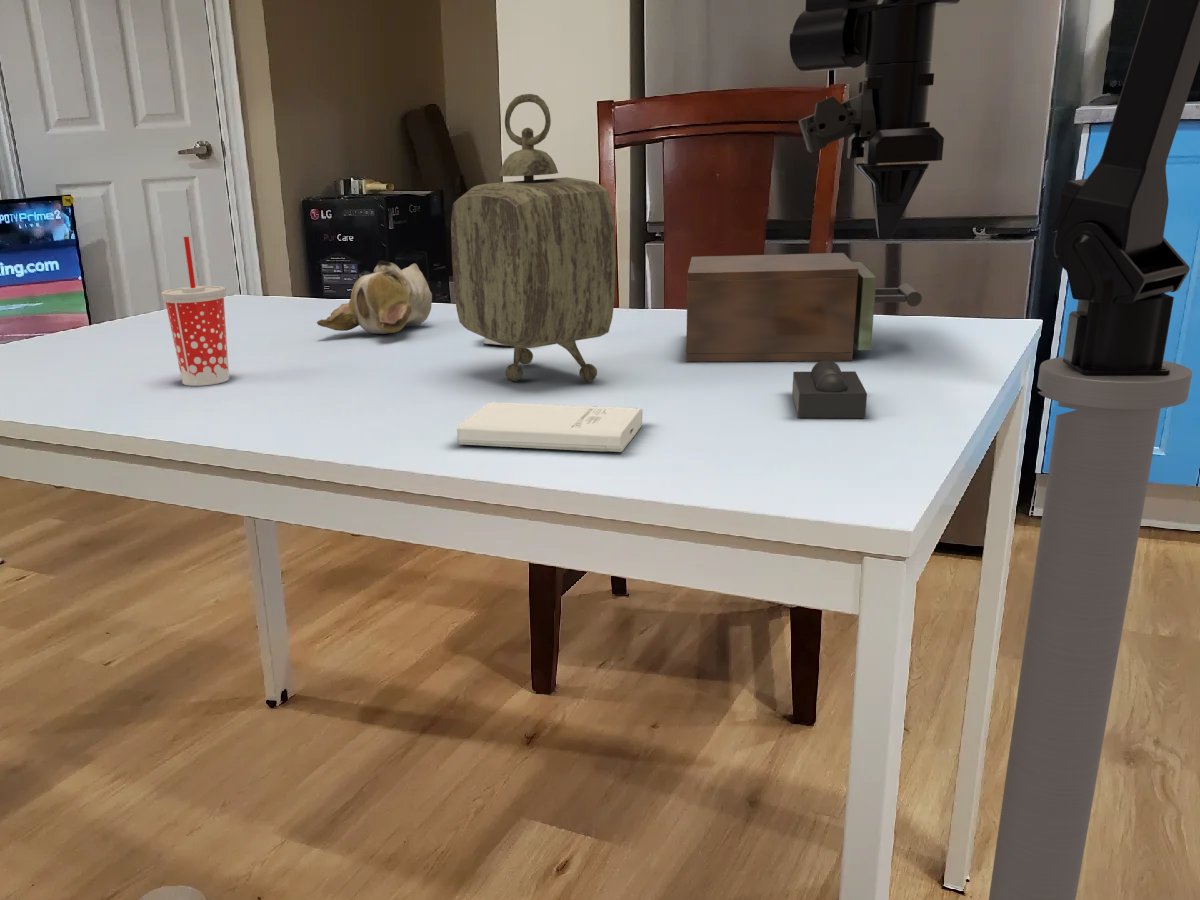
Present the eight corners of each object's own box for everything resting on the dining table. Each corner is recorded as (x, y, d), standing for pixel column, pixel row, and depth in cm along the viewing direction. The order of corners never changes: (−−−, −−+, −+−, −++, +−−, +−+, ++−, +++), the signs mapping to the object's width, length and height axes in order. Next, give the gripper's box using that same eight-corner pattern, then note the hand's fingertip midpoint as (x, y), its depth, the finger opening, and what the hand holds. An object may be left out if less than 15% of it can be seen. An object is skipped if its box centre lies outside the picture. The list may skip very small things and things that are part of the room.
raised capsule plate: (792, 394, 93) (794, 357, 92) (854, 394, 92) (856, 356, 90) (797, 418, 85) (800, 377, 84) (865, 418, 84) (868, 377, 83)
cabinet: (838, 335, 117) (844, 252, 114) (852, 360, 104) (858, 268, 101) (690, 337, 120) (691, 256, 117) (685, 361, 108) (687, 272, 105)
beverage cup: (249, 376, 111) (231, 233, 106) (208, 389, 106) (188, 240, 101) (203, 372, 114) (184, 233, 109) (161, 385, 109) (139, 240, 104)
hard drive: (491, 420, 89) (642, 425, 85) (457, 447, 82) (620, 454, 78) (490, 400, 89) (642, 405, 85) (456, 426, 82) (620, 432, 78)
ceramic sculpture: (450, 250, 132) (381, 273, 121) (457, 321, 136) (390, 350, 124) (378, 250, 138) (305, 273, 126) (386, 319, 141) (316, 347, 129)
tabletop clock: (616, 382, 100) (615, 88, 91) (533, 398, 96) (524, 90, 87) (529, 360, 112) (521, 97, 103) (452, 373, 108) (437, 100, 99)
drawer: (903, 327, 115) (909, 260, 112) (923, 349, 103) (930, 276, 101) (716, 329, 119) (718, 265, 116) (715, 351, 107) (717, 280, 105)
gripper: (800, 74, 111) (792, 233, 116) (814, 64, 94) (804, 251, 99) (917, 67, 109) (903, 229, 114) (952, 56, 92) (935, 248, 97)
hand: (884, 239), depth 106 cm, fingers closed
